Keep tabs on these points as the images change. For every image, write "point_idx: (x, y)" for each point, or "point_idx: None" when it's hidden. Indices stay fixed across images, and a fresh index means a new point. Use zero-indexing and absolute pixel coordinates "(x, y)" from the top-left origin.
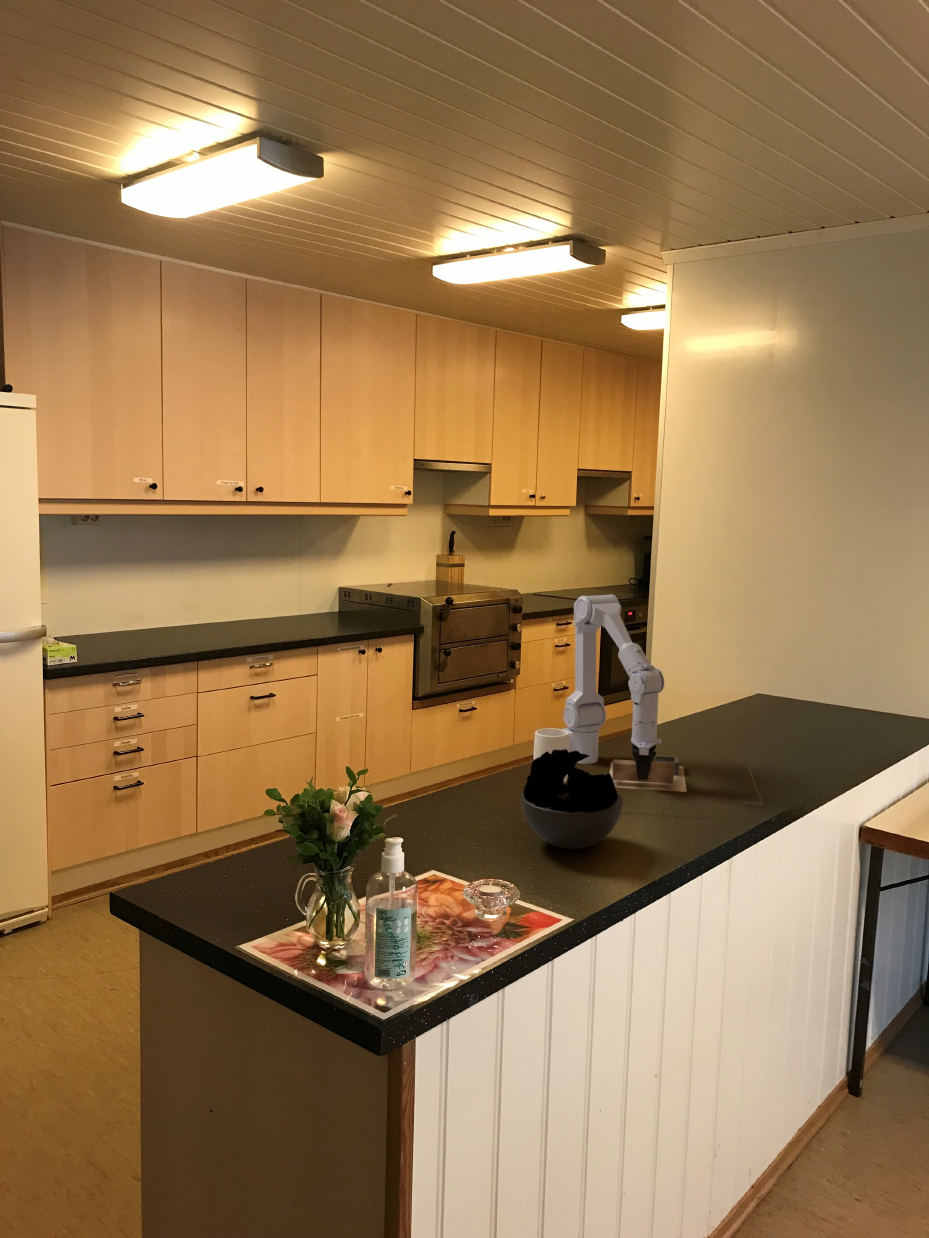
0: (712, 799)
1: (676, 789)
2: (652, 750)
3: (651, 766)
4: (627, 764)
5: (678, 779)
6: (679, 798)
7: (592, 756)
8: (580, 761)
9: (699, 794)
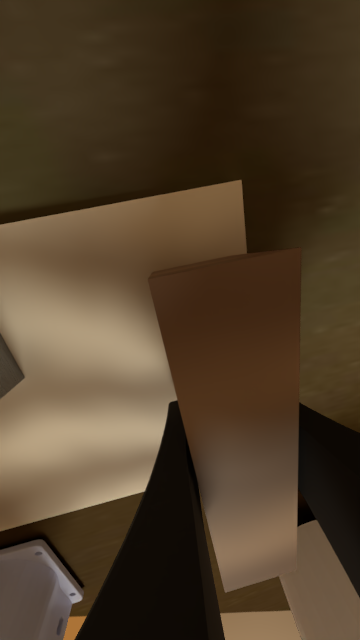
0: (269, 11)
1: (222, 239)
2: (209, 625)
3: (295, 419)
4: (295, 525)
5: (42, 258)
6: (289, 214)
7: (13, 604)
8: (53, 589)
9: (202, 112)
